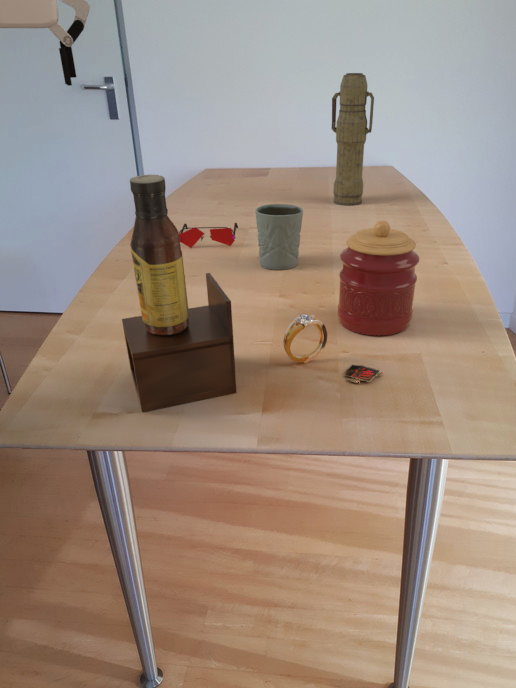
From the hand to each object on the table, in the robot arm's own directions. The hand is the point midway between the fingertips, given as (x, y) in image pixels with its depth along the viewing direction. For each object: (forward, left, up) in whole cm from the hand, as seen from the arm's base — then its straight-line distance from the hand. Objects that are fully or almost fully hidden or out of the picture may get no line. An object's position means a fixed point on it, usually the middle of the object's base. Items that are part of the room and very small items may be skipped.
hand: (26, 85), depth 65 cm
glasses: (+34, +55, -38) cm, 75 cm away
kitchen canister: (+49, -3, -38) cm, 62 cm away
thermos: (+83, +75, -38) cm, 118 cm away
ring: (+32, -12, -38) cm, 51 cm away
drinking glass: (+44, +31, -38) cm, 66 cm away
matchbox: (+38, -19, -38) cm, 57 cm away
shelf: (+13, -11, -38) cm, 42 cm away
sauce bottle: (+11, -11, -29) cm, 33 cm away
